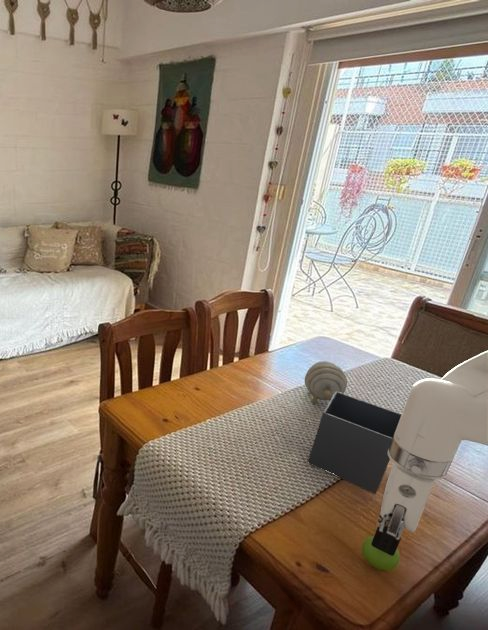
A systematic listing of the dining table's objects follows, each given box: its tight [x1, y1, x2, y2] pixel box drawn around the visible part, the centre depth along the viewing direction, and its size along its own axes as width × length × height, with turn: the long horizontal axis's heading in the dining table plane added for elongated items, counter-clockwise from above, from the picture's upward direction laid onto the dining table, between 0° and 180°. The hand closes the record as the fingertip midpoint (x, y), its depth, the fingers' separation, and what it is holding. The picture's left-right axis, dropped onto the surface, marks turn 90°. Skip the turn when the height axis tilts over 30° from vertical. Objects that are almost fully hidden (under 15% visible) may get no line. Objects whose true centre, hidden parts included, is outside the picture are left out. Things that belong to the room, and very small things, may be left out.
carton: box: [307, 391, 402, 495], centre depth 100 cm, size 14×12×14 cm
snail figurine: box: [361, 517, 401, 572], centre depth 76 cm, size 5×6×12 cm
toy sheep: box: [304, 360, 348, 405], centre depth 125 cm, size 11×17×11 cm, turn 160°
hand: (385, 536), depth 76 cm, fingers closed on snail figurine, 5 cm apart
